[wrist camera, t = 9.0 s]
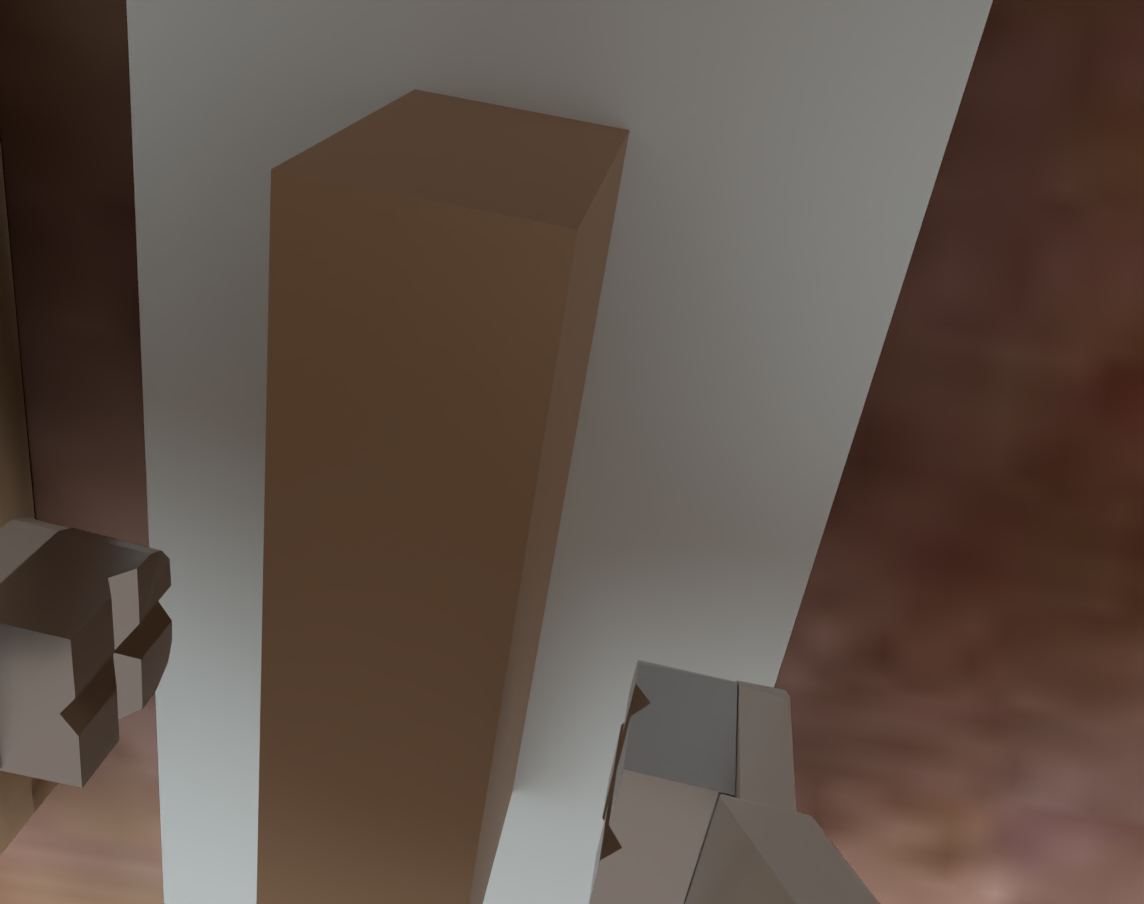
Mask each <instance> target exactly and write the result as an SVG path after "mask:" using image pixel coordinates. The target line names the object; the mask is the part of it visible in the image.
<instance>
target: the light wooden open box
mask: <svg viewBox="0 0 1144 904" xmlns="http://www.w3.org/2000/svg"><path fill="white" fill-rule="evenodd" d="M24 517H27V518H32V519H35V515H34V504H33V493H32V482H31V471H30V460H29V449H28V438H27V427H26V416H25V405H24V394H23V383H22V373H21V362H20V351H19V340H18V329H17V318H16V307H15V296H14V285H13V274H12V263H11V252H10V241H9V231H8V220H7V209H6V198H5V187H4V176H3V165H2V154H1V143H0V529H1V528H2V527H3V526H4V525H5V524H7V523H8V522H9V521H11V520H13V519H18V518H24ZM56 784H57V782H52V781H48V780H43V779H38V778H33V777H29V776H24V775H19V774H15V773H10V772H5V771H0V855H1V854H2V853H3V851H4V850H5V849H6V848H7V846H8V845H9V844H10V843H11V841H12V840H13V839H14V837H15V836H16V835H17V834H18V832H19V831H20V830H21V829H22V827H23V826H24V825H25V824H26V822H27V821H28V820H29V818H30V817H31V816H32V815H33V813H34V812H35V811H36V810H37V808H38V807H39V806H40V805H41V803H42V802H43V801H44V800H45V798H46V797H47V796H48V794H49V793H50V792H51V791H52V789H53V788H54V787H55V786H56Z"/></svg>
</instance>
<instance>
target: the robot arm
mask: <svg viewBox="0 0 1144 904" xmlns="http://www.w3.org/2000/svg"><path fill="white" fill-rule="evenodd" d="M170 586H171V573H170V559H169V558H168V557H167V556H166V554H165V553H164V552H163V551H162V550H158V549H154V548H150V547H146V546H142V545H138V544H134V543H130V542H126V541H122V540H118V539H114V538H110V537H106V536H102V535H99V534H95V533H91V532H87V531H83V530H79V529H75V528H67V527H64V526H61V525H56V524H52V523H48V522H44V521H40V520H36V519H32V518H27V517H24V518H18V519H13V520H11V521H9V522H8V523H7V524H5V525H4V526H3V527H2V528H1V529H0V771H5V772H10V773H15V774H19V775H24V776H29V777H33V778H38V779H43V780H48V781H52V782H57V783H62V784H66V785H71V786H76V787H81V788H82V787H83V786H84V785H85V783H86V782H87V781H88V780H89V778H90V777H91V776H92V774H93V773H94V772H95V770H96V769H97V768H98V767H99V765H100V764H101V763H102V761H103V760H104V759H105V757H106V756H107V755H108V753H109V752H110V751H111V750H112V748H113V747H114V746H115V744H116V743H117V742H118V740H119V726H118V719H121V718H123V717H125V716H127V715H130V714H132V713H134V712H136V711H139V710H141V709H143V707H144V706H145V705H146V703H147V702H148V700H149V699H150V698H151V696H152V695H153V693H154V692H155V691H156V689H157V687H158V685H159V683H160V680H161V678H162V676H163V673H164V671H165V668H166V666H167V664H168V660H169V655H170V649H171V643H172V620H171V618H170V617H169V616H168V614H167V613H166V611H165V610H164V608H163V607H162V606H161V604H160V603H159V600H160V598H161V597H162V596H163V595H164V594H165V592H166V591H167V590H168V589H169V588H170ZM602 818H603V820H604V824H603V828H602V832H601V836H600V840H599V845H598V849H597V853H596V859H595V865H594V872H593V879H592V885H591V892H590V898H589V904H880V903H879V902H878V901H877V900H876V898H875V897H874V896H873V894H872V893H871V892H870V891H869V889H868V888H867V887H866V885H865V884H864V883H863V882H862V880H861V879H860V878H859V876H858V875H857V874H856V873H855V871H854V870H853V869H852V867H851V866H850V865H849V864H848V862H847V861H846V860H845V858H844V857H843V856H842V855H841V853H840V852H839V851H838V849H837V848H836V847H835V846H834V844H833V843H832V842H831V840H830V839H829V838H828V837H827V835H826V834H825V833H824V831H823V830H822V829H821V828H820V826H819V825H818V824H817V822H816V821H815V820H814V818H813V817H812V816H810V815H806V814H802V813H798V812H796V797H795V779H794V761H793V742H792V724H791V706H790V696H789V695H788V693H787V692H786V690H783V689H778V688H773V687H768V686H763V685H758V684H753V683H748V682H743V681H738V680H737V681H736V682H734V681H731V680H726V679H722V678H717V677H713V676H708V675H704V674H700V673H695V672H691V671H686V670H682V669H677V668H673V667H668V666H664V665H659V664H655V663H650V662H646V661H641V660H638V662H637V665H636V668H635V672H634V676H633V679H632V683H631V687H630V691H629V697H628V703H627V709H626V715H625V721H624V723H623V724H622V725H621V728H620V732H619V737H618V741H617V746H616V750H615V754H614V759H613V763H612V767H611V772H610V776H609V782H608V787H607V793H606V799H605V804H604V810H603V816H602Z"/></svg>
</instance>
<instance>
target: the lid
mask: <svg viewBox="0 0 1144 904" xmlns="http://www.w3.org/2000/svg"><path fill="white" fill-rule="evenodd" d="M126 2H127V26H128V50H129V74H130V98H131V122H132V146H133V170H134V194H135V217H136V241H137V265H138V289H139V313H140V337H141V361H142V385H143V409H144V433H145V457H146V481H147V505H148V529H149V547H150V548H154V549H158V550H162V551H163V552H164V553H165V554H166V556H167V557H168V558H169V559H170V573H171V586H170V588H169V589H168V590H167V591H166V592H165V594H164V595H163V596H162V597H161V598H160V600H159V603H160V604H161V606H162V607H163V608H164V610H165V611H166V613H167V614H168V616H169V617H170V618H171V620H172V643H171V649H170V655H169V660H168V664H167V666H166V668H165V671H164V673H163V676H162V678H161V680H160V683H159V685H158V687H157V689H156V691H155V696H156V720H157V744H158V768H159V792H160V816H161V840H162V864H163V888H164V903H166V904H589V898H590V892H591V885H592V879H593V872H594V865H595V859H596V853H597V849H598V845H599V840H600V836H601V832H602V828H603V824H604V820H603V818H602V816H603V810H604V804H605V799H606V793H607V787H608V782H609V776H610V772H611V767H612V763H613V759H614V754H615V750H616V746H617V741H618V737H619V732H620V728H621V725H622V724H623V723H624V721H625V715H626V709H627V703H628V697H629V691H630V687H631V683H632V679H633V676H634V672H635V668H636V665H637V662H638V660H641V661H646V662H650V663H655V664H659V665H664V666H668V667H673V668H677V669H682V670H686V671H691V672H695V673H700V674H704V675H708V676H713V677H717V678H722V679H726V680H731V681H734V682H736V681H737V680H738V681H743V682H748V683H753V684H758V685H763V686H768V687H773V688H774V686H775V683H776V679H777V676H778V673H779V670H780V667H781V664H782V661H783V657H784V654H785V651H786V648H787V645H788V642H789V639H790V635H791V632H792V629H793V626H794V623H795V620H796V617H797V613H798V610H799V607H800V604H801V601H802V598H803V595H804V592H805V588H806V585H807V582H808V579H809V576H810V573H811V570H812V566H813V563H814V560H815V557H816V554H817V551H818V548H819V544H820V541H821V538H822V535H823V532H824V529H825V526H826V523H827V519H828V516H829V513H830V510H831V507H832V504H833V501H834V497H835V494H836V491H837V488H838V485H839V482H840V479H841V475H842V472H843V469H844V466H845V463H846V460H847V457H848V453H849V450H850V447H851V444H852V441H853V438H854V435H855V432H856V428H857V425H858V422H859V419H860V416H861V413H862V410H863V406H864V403H865V400H866V397H867V394H868V391H869V388H870V384H871V381H872V378H873V375H874V372H875V369H876V366H877V363H878V359H879V356H880V353H881V350H882V347H883V344H884V341H885V337H886V334H887V331H888V328H889V325H890V322H891V319H892V315H893V312H894V309H895V306H896V303H897V300H898V297H899V294H900V290H901V287H902V284H903V281H904V278H905V275H906V272H907V268H908V265H909V262H910V259H911V256H912V253H913V250H914V246H915V243H916V240H917V237H918V234H919V231H920V228H921V224H922V221H923V218H924V215H925V212H926V209H927V206H928V203H929V199H930V196H931V193H932V190H933V187H934V184H935V181H936V177H937V174H938V171H939V168H940V165H941V162H942V159H943V155H944V152H945V149H946V146H947V143H948V140H949V137H950V134H951V130H952V127H953V124H954V121H955V118H956V115H957V112H958V108H959V105H960V102H961V99H962V96H963V93H964V90H965V86H966V83H967V80H968V77H969V74H970V71H971V68H972V64H973V61H974V58H975V55H976V52H977V49H978V46H979V43H980V39H981V36H982V33H983V30H984V27H985V24H986V21H987V17H988V14H989V11H990V8H991V5H992V2H993V0H126Z"/></svg>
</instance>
